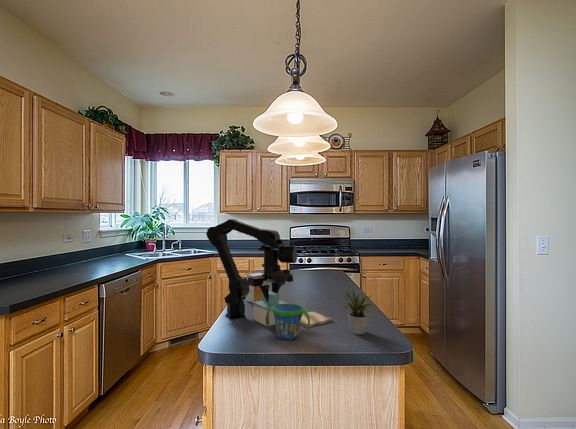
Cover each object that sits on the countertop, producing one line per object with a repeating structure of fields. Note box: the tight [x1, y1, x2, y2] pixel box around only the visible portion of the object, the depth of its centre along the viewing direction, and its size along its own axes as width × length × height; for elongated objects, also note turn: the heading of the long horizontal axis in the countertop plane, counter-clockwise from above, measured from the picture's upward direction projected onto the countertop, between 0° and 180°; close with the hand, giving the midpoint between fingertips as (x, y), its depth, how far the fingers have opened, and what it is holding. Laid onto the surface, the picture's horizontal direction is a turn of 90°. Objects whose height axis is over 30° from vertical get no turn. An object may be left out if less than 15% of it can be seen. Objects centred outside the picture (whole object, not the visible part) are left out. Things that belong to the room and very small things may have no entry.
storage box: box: [253, 305, 275, 327], centre depth 132 cm, size 10×10×6 cm
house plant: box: [340, 287, 376, 335], centre depth 120 cm, size 14×14×16 cm
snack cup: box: [266, 303, 310, 341], centre depth 115 cm, size 16×10×10 cm
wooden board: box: [300, 311, 333, 328], centre depth 133 cm, size 13×12×1 cm
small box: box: [245, 272, 264, 304], centre depth 163 cm, size 8×6×13 cm
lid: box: [252, 290, 289, 311], centre depth 132 cm, size 10×10×6 cm
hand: (270, 300), depth 132 cm, fingers closed on lid, 3 cm apart
